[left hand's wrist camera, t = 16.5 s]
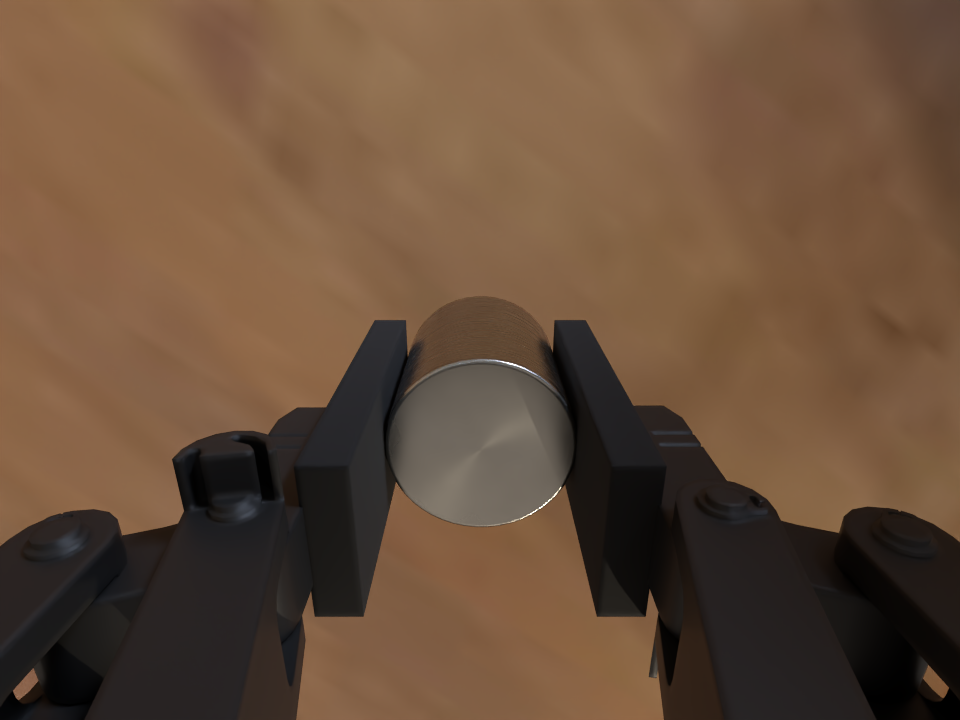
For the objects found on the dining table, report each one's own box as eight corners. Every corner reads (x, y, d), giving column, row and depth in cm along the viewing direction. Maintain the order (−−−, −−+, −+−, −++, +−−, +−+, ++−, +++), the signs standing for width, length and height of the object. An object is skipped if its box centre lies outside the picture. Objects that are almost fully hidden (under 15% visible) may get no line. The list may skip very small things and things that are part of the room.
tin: (410, 291, 14) (383, 353, 10) (559, 299, 14) (590, 365, 10) (408, 423, 15) (384, 524, 11) (544, 430, 15) (566, 533, 11)
